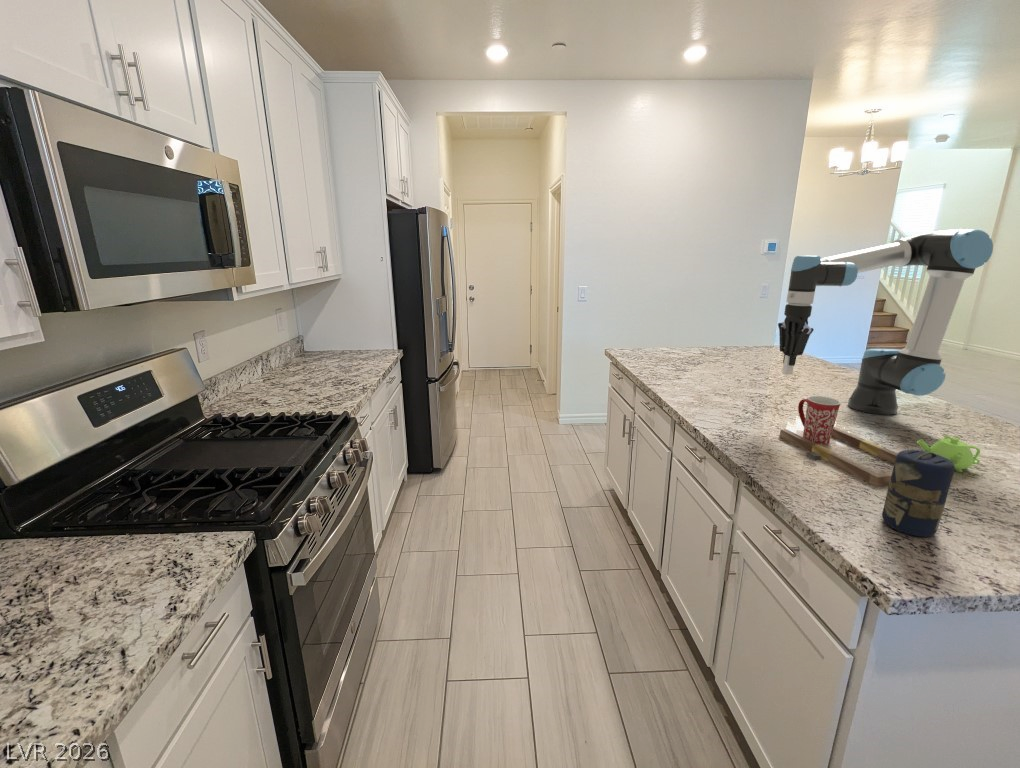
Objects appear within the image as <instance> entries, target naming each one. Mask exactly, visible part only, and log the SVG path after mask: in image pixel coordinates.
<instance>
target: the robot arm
mask: <svg viewBox="0 0 1020 768" xmlns="http://www.w3.org/2000/svg"><path fill="white" fill-rule="evenodd" d="M993 250H994V243H993V239H992V238H990V235H989V234H988V233H987V232H986V231H984V230H981V229H978V228H977V229H976V228H959V229H935V230H930V231H926V232H921V233H918V234H914V235H910V236H906V237H905V236H904V237H902V238H897V239H895V240H893V241H892V242H891V243H887V244H883V245H879V246H874V247H869V248H865V249H860V250H855V251H850V252H846V253H840V254H836V255H831V256H827V257H823V258H821V256H819V255H796V256H794V258H793V261H792V265H791V268H790V277H789V281H788V282H789V283H788V284H789V285H788V290H787V295H786V296H787V297H786V303H787V304H786V305H785V306H784V316H785V318H784V321H782V322H778V323H777V326H778V329H779V332H778V333H779V351H780V353H781V352H782V353H783V360H782V365H783V367H782V373H781V374H782V375H785V376H787V375H789V376H790V375H793V371H794V367H795V366H796V361H797V357H798V356H802V355H803V354H804V352H805V349H806V346H807V344H808V342H809V339H810V336H811V334H812V333H813V332H814V328H813V327H810V326H809V321H808V320H809V318H810V317H811V315H812V310H813V306H812V304H814V300H815V294H816V287H821V286H822V287H823V286H824V287H843V286H844V287H845V286H847V287H848V286H851V285H852V284H853V283H854V282H855V281H856V280H857V277H858V273H864V272H868V271H872V270H879V269H883V268H887V267H892V266H895V267H896V268H897V267H898V268H901V267H907V266H924V267H925V266H927V267H926V271H925V272H926V273H927V274H928V275H929V279H928V282H927V285H926V288H925V289H924V293H923V296H922V299H921V301H920V305H919V308H918V311H917V313H916V316H915V319H914V323H913V325H912V328H911V331H910V334H909V337H908V340H907V342H906V345H905V347H904V348H902V349H898V348H867V349H866V350H865V351H864V353H863V355H862V358H861V362H860V363H861V364H860V368H859V373H858V374H859V375H858V379H857V380H858V381H857V385H856V387H855V388H854V390H853V392H852V394H851V395H850V397H849V398H848V402H847V406H848V407H850V408H851V409H854V410H856V411H859V412H864V413H867V414H873V415H874V414H876V415H884V416H885V415H888V416H890V415H895V414H897V412H898V409H899V404H898V400H897V394H896V393H897V392H896V390H897V391H901V392H903V393H905V394H909V395H913V396H917V397H920V396H921V397H923V396H927V395H929V394H932V393H933V392H935V391H937V390H938V389H940V387H942V385H943V383H944V381H945V379H946V371H945V369H944V368H943V367H942V366H941V363H942V360H943V357H942V356H941V355H940V354H939V351H940V348H941V345H942V343H943V341H944V338H945V334H946V331H947V329H948V328H949V327H948V326H949V324H950V321H951V318H952V316H953V313H954V310H955V307H956V305H957V301H958V299H959V296H960V295H961V291H962V289H963V285H964V282H965V280H966V279H968V278H970V277H973V275H974V274H975V271H976V269H978V268H980V267H982V266H983V265H985V263H988V261H989V260H990V259H991V257H992V255H993Z"/></svg>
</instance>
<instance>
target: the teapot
mask: <svg viewBox="0 0 1020 768" xmlns="http://www.w3.org/2000/svg"><path fill="white" fill-rule="evenodd" d="M916 443H917V445H919V446H920V448H922V450H923V451H926V452H932V453H935V454H938V455H940V456H943V457H945V458H947V459H949V460H950V461H951V462H952V463H953V464H954V466H955V470H954V472H958V473H964V471H963V470H964V469H968V468H970V467H971V466H973V465H979V464H980V462H981V461H980V459H979V458H978V457H979V456H980V454H981V450H980V448H979V447H978V446H976V445H968V444H967V443H966V442H965V441H964V442H963V441H961V440H960V438H957V437H953V436H947V435H946V436H944V438H941V439H939V440H937V441H935V442H934V443H933V444H931V446H929V445H928V444H927V443H926V441H924V439H918V440H917V442H916ZM971 449H975V450H976V453H975V454H974V455H973V452H972V450H971Z"/></svg>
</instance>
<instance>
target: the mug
mask: <svg viewBox="0 0 1020 768" xmlns="http://www.w3.org/2000/svg"><path fill="white" fill-rule="evenodd" d="M805 403H806V411H805V412H804V404H805ZM841 405H842V402H841V401H840V400H838V399H836V398H832V397H829V396H822V395H810V396H807V398H803V399H800V401H799V402H798V407H797V408H798V409H797V410H798V415H799V418H800V419H799V420H800V421H801V424H802V426H803V435H802V437H803V438H806V439H808V440H810V441H812V442H814V443H816V444H818V445H828V444H830V443H831V442H830V441H831V438H832V436H831V435H832V431H833V428H834V427H835V425H836V424H835V423H836V421H837V417H838V413H839V410H840V406H841Z"/></svg>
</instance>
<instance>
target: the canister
mask: <svg viewBox="0 0 1020 768" xmlns="http://www.w3.org/2000/svg"><path fill="white" fill-rule="evenodd" d="M897 453H898V454H897V457H896V460H895V464H894V463H893V469H892V471H893V472H892V476H891V479H890V483H889V485H888V488H887V491H886V497H885V501H884V505H883V508H882V509H883V510H882V519H883V521H884V522H885V524H886V525H888V526H889V527H890V528H893V529H894V530H896V531H899V532H901V533H904V534H906V535H911V536H914V537H915V536H916V537H932V536H934V535H935V534H936V533H937V532H938V530H939V527H940V522H941V519H942V516H943V512H944V509H945V506H946V502H947V497H948V494H949V491H950V487H951V484H952V480H953V477H954V473H955V466H954V464H953V463H952V462H951V461H950V460H949V459H947V458H945V457H943V456H940V455H938V454H935V453H932V452H926V451H925V450H920V449H919V450H918V449H904V450H901V451H899V452H897Z"/></svg>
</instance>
